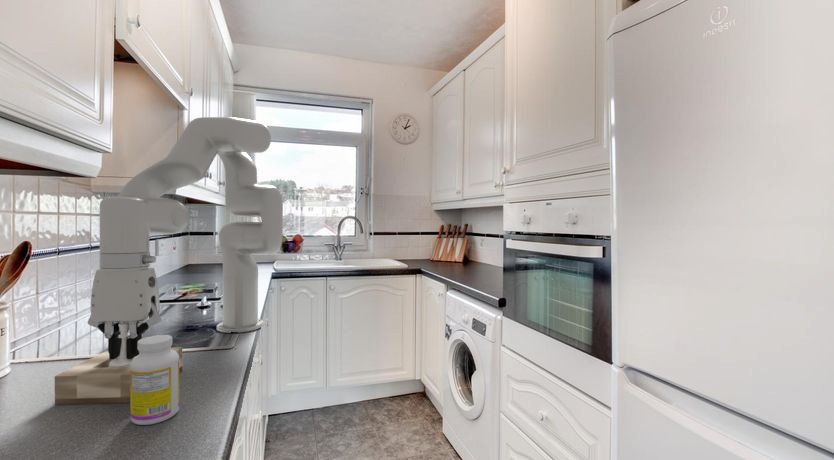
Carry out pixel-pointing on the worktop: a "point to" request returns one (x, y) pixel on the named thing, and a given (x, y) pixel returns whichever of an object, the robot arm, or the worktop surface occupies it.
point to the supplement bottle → (154, 381)
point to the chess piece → (122, 347)
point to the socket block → (96, 382)
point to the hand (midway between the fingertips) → (125, 356)
